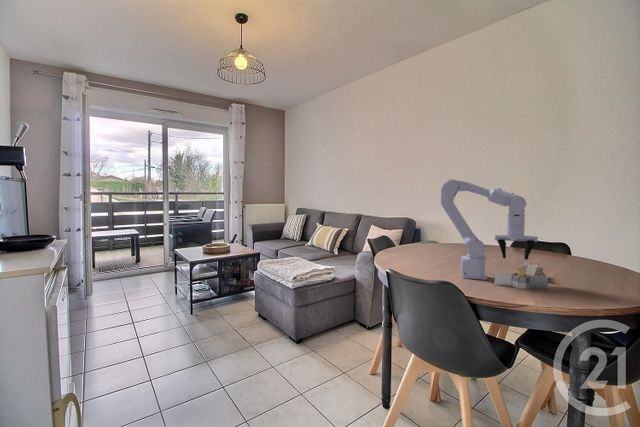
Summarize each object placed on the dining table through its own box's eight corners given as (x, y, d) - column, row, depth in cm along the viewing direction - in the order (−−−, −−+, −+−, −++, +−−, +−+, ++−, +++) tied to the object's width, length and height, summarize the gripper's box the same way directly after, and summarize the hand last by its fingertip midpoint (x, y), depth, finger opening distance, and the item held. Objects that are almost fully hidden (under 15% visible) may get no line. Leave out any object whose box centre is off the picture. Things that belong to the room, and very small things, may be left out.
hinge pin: (517, 287, 116) (518, 269, 115) (515, 285, 118) (516, 267, 117) (524, 287, 115) (525, 269, 114) (522, 285, 117) (523, 268, 117)
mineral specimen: (553, 282, 121) (553, 267, 121) (534, 282, 122) (534, 266, 121) (533, 273, 134) (534, 259, 133) (517, 273, 134) (517, 259, 134)
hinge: (495, 286, 117) (496, 275, 116) (493, 282, 122) (493, 271, 122) (549, 291, 111) (550, 279, 110) (544, 286, 116) (545, 274, 116)
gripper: (497, 226, 120) (496, 259, 121) (540, 227, 115) (539, 261, 116) (494, 224, 127) (493, 255, 128) (535, 224, 122) (533, 257, 123)
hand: (514, 258), depth 122 cm, fingers open, 7 cm apart
